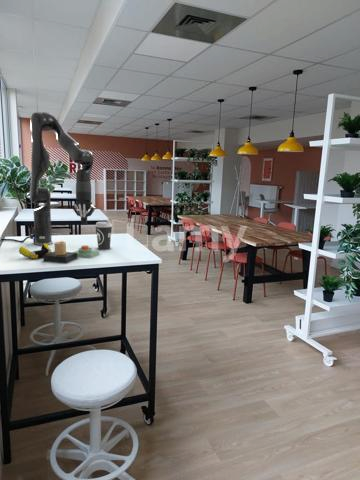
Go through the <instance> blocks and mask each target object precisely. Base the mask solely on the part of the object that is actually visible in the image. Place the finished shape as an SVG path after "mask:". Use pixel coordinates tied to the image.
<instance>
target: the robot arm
mask: <svg viewBox="0 0 360 480" xmlns="http://www.w3.org/2000/svg"><path fill="white" fill-rule="evenodd" d="M49 131H50V132H52V133H53V134H55V135H56V140H57V143H58V144H59V146H60V147H61V148H62V149H63V150H64V151H65V152H66V153H67V154H68V156H69V158H70V159H71V160H72V161H73V163H75V164H76V165H77V164H78V165H81V167H80V168H79V169H77V170H76V171H75V200H76V201H75V204H74V205H71V208H72V210H73V212H74V213H75V214H76V216H77V217H80V223H81V225H83V226H86V225H87V224H88V217H91V216H92V215H93V213H94V212H95V211H96V210H97V207H96V206H94V205H93V203H92V181H91V180H92V179H91V177H92V176H91V173H92V170H93V165H94V160H95V159H94V154H93V153H92V151H90V150H88V149H80V147H81V146H80V144H79V142H77V140H75V138H73V137H72V136H71V135H70V134H69V133H68V132H67V131H66V130H65V129H64V127H63V126H62V125H61V124H60V122H59V121H58V120H57V118H56V116H55V115H53V114H52V113H50V112H47V111H36V112H33V113H32V114H31V116H30V133H31V154H30V155H31V158H30V159H31V160H30V166H31V167H30V169H31V170H30V171H31V172H30V175H31V176H30V185H29V200H30V202H31V203H32V204H43V205H42V206H40V207H38V208H35V209H34V210H33V227H32V234H29V235H28V236H26V237H25V238H24V239H23V240H18V239H15V238H14V239H13V238H0V239H1V240H0V241H10V242H13V241H14V242H17V243H24V242H26V241H27V239H30V240H32V241H33V244H34V245H36V246H42V244H44V243H45V244H47V245H48V246H49V245H51V244H53V240H52V238H53V237H52V216H51V190H50V188H49V187H47V186H39V183H40V181H41V179H43V177H44V176H45V175H46V173H47V172H48V171H49V168H50V159H51V158H50V157H51V156H50V152H49V150H48V149H47V147H46V145H45V143H44V142H43V132H49Z"/></svg>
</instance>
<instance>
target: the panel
mask: <svg viewBox="0 0 360 480" xmlns="http://www.w3.org/2000/svg"><path fill="white" fill-rule="evenodd" d="M73 252H74V251H72V252H71V251H66V254H65V255H55V250H54V251H51V253H48V254H45V255H43V257H42V258H43V262H48V263H58V264H68V263H70V262H73V261H75V260H77V259H78V257H77V253H73Z"/></svg>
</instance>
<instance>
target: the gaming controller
mask: <svg viewBox="0 0 360 480" xmlns="http://www.w3.org/2000/svg"><path fill="white" fill-rule="evenodd" d="M51 252H52V249H51V248H50V246H49V244H48V245H47V244H45V243H44V244H42V245H41V248H40V249H38V250H32V251H30V250H29V249H27V248H26V247H24V246H20V247H19V248H18V253H19V254H20V255H22V256H23V257H26V258H28V259H29V260H35V259H41V258H43V255H45V254H48V253H51Z"/></svg>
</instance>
